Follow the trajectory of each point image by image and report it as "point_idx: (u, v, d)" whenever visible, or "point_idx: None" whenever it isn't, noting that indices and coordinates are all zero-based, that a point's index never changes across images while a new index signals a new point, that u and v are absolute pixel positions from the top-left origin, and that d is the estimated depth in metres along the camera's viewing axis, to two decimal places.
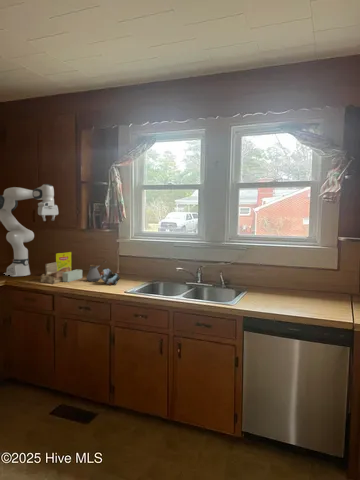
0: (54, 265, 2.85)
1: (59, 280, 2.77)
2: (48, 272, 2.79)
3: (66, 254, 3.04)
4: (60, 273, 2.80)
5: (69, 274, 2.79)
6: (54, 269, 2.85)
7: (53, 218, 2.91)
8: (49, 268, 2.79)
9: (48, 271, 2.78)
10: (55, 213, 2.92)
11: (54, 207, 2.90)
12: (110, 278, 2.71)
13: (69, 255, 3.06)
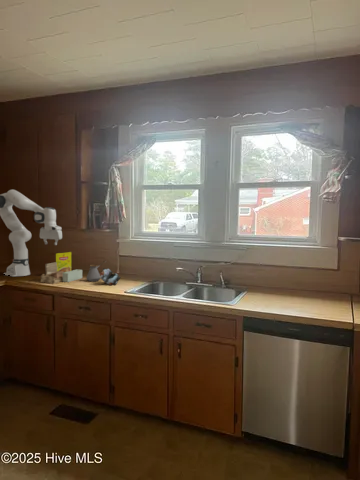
0: (54, 265, 2.85)
1: (59, 280, 2.77)
2: (48, 272, 2.79)
3: (66, 254, 3.04)
4: (60, 273, 2.80)
5: (69, 274, 2.79)
6: (54, 269, 2.85)
7: (46, 242, 2.83)
8: (49, 268, 2.79)
9: (48, 271, 2.78)
10: None
11: None
12: (110, 278, 2.70)
13: (69, 255, 3.06)
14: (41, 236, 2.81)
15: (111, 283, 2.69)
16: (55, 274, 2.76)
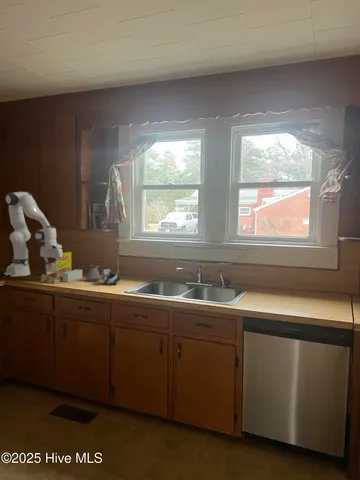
0: (54, 265, 2.85)
1: (59, 280, 2.77)
2: (48, 272, 2.79)
3: (66, 254, 3.04)
4: (59, 273, 2.80)
5: (69, 274, 2.79)
6: (54, 269, 2.85)
7: (47, 260, 2.84)
8: (49, 268, 2.79)
9: (48, 271, 2.78)
10: None
11: None
12: (111, 278, 2.70)
13: (69, 255, 3.06)
14: (42, 255, 2.82)
15: (111, 283, 2.68)
16: (55, 274, 2.75)
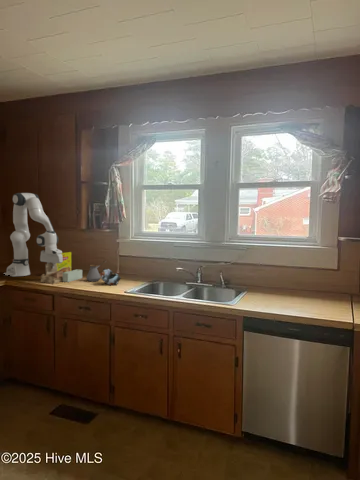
0: None
1: (59, 280, 2.77)
2: (48, 272, 2.79)
3: (66, 254, 3.04)
4: (59, 273, 2.80)
5: (69, 274, 2.79)
6: (54, 269, 2.85)
7: None
8: (49, 268, 2.79)
9: (48, 271, 2.78)
10: None
11: None
12: (111, 278, 2.70)
13: (69, 255, 3.06)
14: (42, 259, 2.83)
15: (112, 283, 2.68)
16: (55, 274, 2.75)
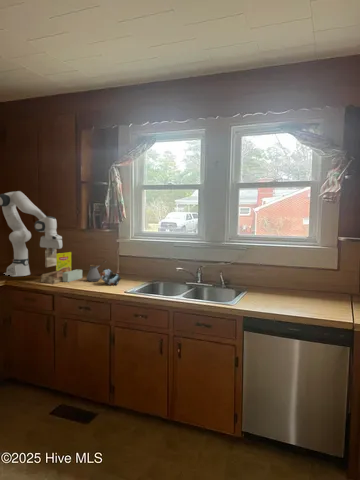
0: (54, 251, 2.84)
1: (59, 280, 2.77)
2: (48, 258, 2.78)
3: (66, 254, 3.04)
4: (59, 273, 2.80)
5: (69, 274, 2.79)
6: (54, 255, 2.84)
7: None
8: (49, 254, 2.78)
9: (48, 257, 2.78)
10: None
11: None
12: (111, 278, 2.69)
13: (69, 255, 3.06)
14: (41, 245, 2.82)
15: (112, 283, 2.68)
16: (55, 274, 2.75)
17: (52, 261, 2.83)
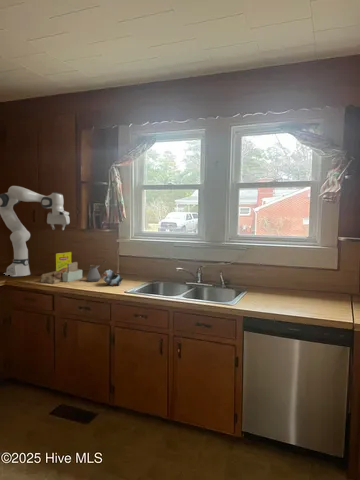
0: (75, 265, 2.88)
1: (59, 280, 2.77)
2: (69, 272, 2.82)
3: (66, 254, 3.04)
4: (60, 273, 2.80)
5: (69, 274, 2.79)
6: (75, 269, 2.88)
7: (53, 227, 2.84)
8: (70, 268, 2.83)
9: (69, 271, 2.82)
10: None
11: None
12: (113, 279, 2.67)
13: (69, 255, 3.06)
14: (48, 221, 2.82)
15: (114, 284, 2.66)
16: (58, 274, 2.75)
17: None
